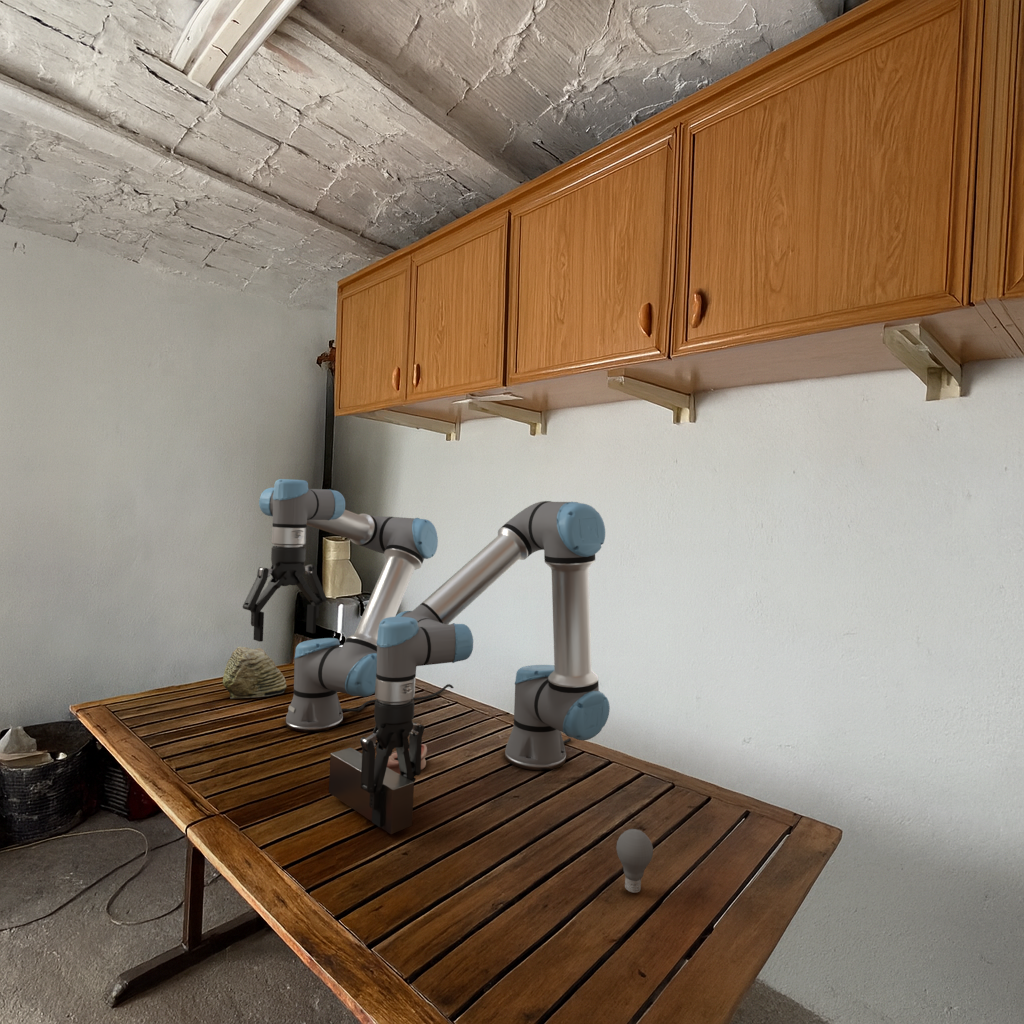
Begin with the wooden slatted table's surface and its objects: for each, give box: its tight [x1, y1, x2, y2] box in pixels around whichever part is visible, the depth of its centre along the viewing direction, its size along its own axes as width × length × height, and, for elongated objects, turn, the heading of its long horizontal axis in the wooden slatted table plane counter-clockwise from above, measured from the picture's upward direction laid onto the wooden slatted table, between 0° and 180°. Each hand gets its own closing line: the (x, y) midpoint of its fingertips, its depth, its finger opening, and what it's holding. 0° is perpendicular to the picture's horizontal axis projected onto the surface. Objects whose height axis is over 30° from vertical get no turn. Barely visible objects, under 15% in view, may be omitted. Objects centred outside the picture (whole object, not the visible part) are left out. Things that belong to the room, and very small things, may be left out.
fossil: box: [222, 646, 288, 699], centre depth 198 cm, size 9×18×15 cm, turn 132°
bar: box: [328, 747, 415, 835], centre depth 127 cm, size 22×5×8 cm, turn 47°
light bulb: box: [615, 828, 654, 894], centre depth 106 cm, size 6×6×10 cm
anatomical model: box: [387, 743, 428, 775], centre depth 150 cm, size 13×4×12 cm
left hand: (285, 636), depth 148 cm, fingers open, 13 cm apart
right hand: (389, 818), depth 122 cm, fingers closed on bar, 5 cm apart
